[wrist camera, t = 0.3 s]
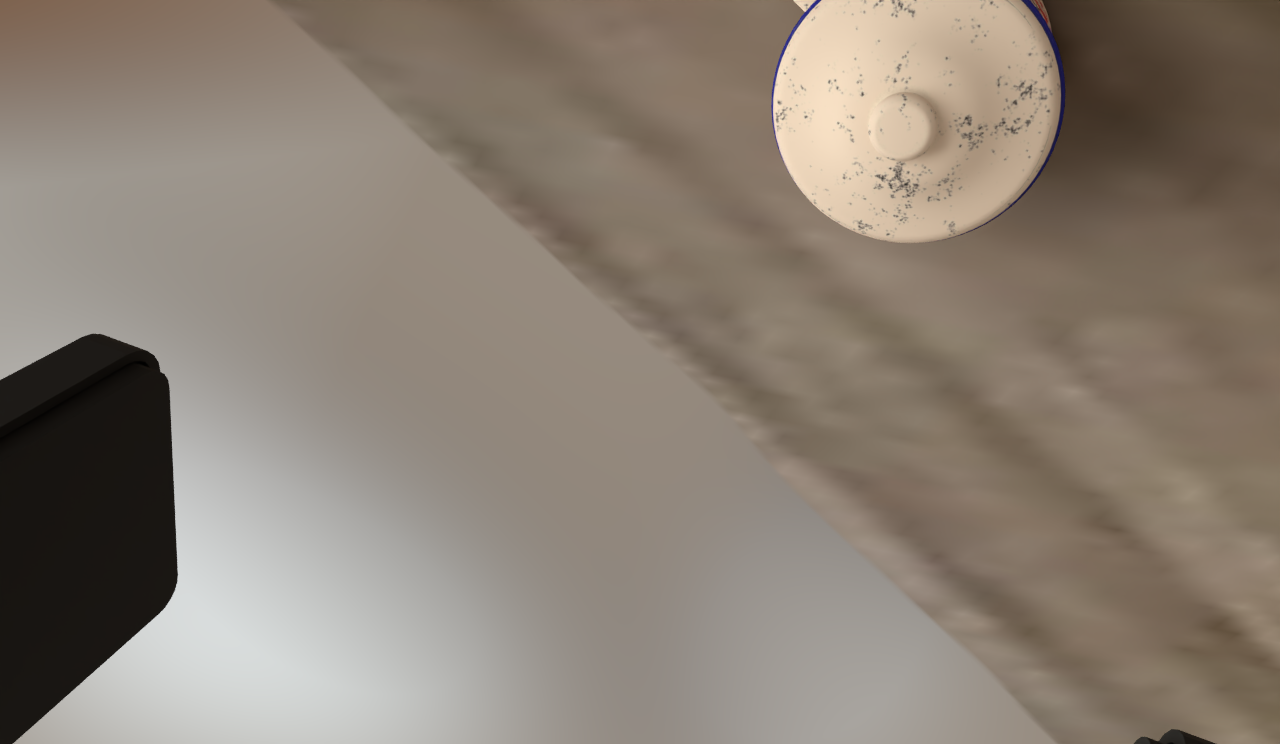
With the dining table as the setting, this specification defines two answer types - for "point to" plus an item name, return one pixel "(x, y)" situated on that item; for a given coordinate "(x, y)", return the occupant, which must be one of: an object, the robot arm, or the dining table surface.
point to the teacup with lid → (917, 111)
